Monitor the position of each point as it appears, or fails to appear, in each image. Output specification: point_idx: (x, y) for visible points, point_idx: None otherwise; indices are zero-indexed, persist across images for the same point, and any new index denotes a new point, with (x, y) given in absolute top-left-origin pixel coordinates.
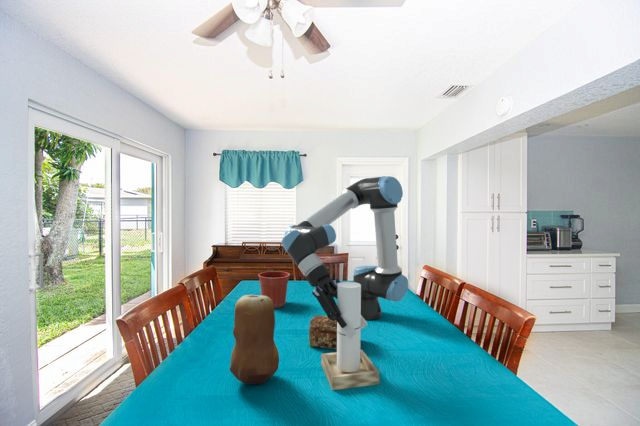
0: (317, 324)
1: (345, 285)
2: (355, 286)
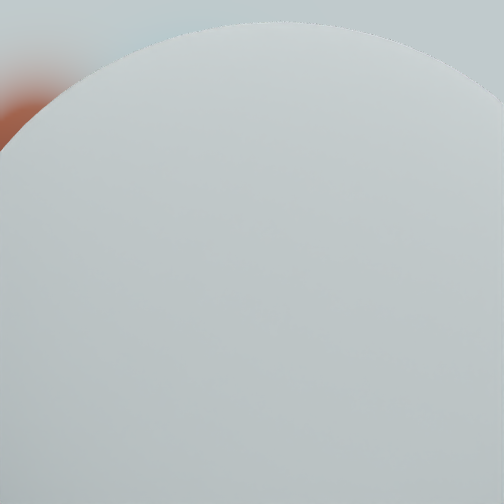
0: None
1: (486, 248)
2: (251, 39)
